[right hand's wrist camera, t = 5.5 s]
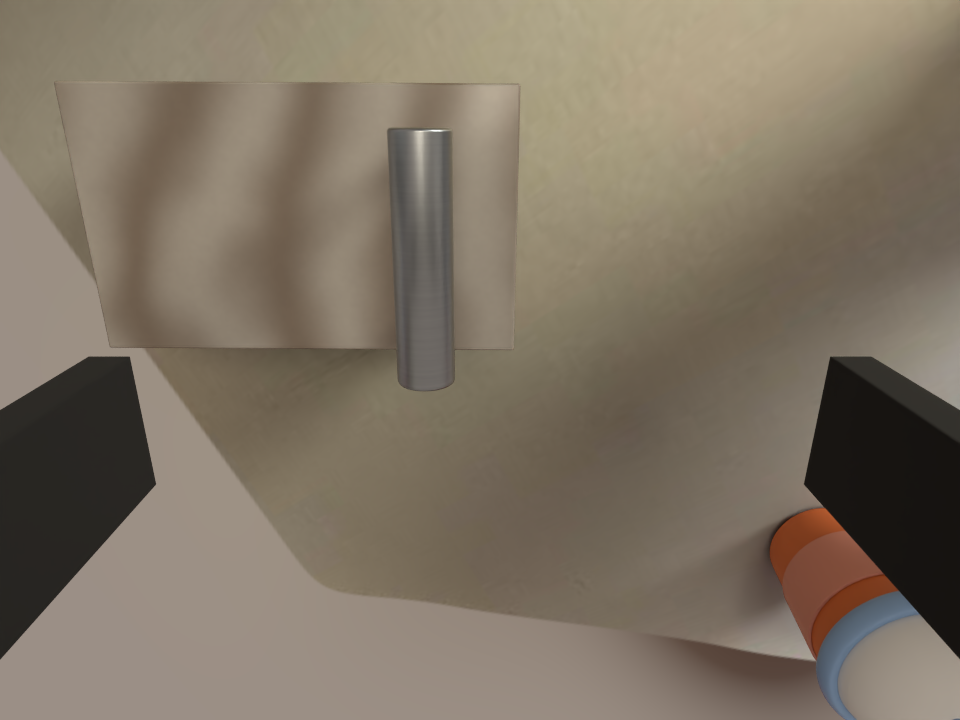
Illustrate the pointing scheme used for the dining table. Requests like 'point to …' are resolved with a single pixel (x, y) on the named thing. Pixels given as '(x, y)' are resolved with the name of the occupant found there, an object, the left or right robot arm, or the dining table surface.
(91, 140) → the lid
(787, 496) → the dining table surface
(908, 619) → the cup with straw
